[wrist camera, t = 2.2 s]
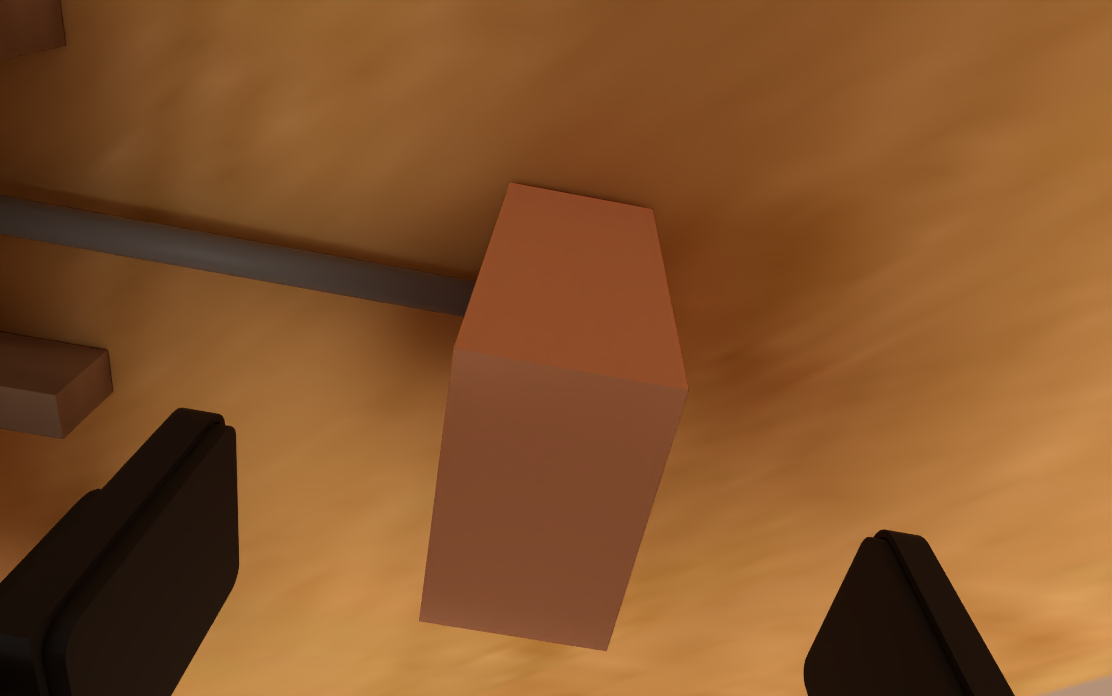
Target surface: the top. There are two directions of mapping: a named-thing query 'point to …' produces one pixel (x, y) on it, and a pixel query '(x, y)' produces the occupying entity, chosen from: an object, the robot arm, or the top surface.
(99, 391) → the wooden side table
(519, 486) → the lopsided dumbbell
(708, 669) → the top surface
